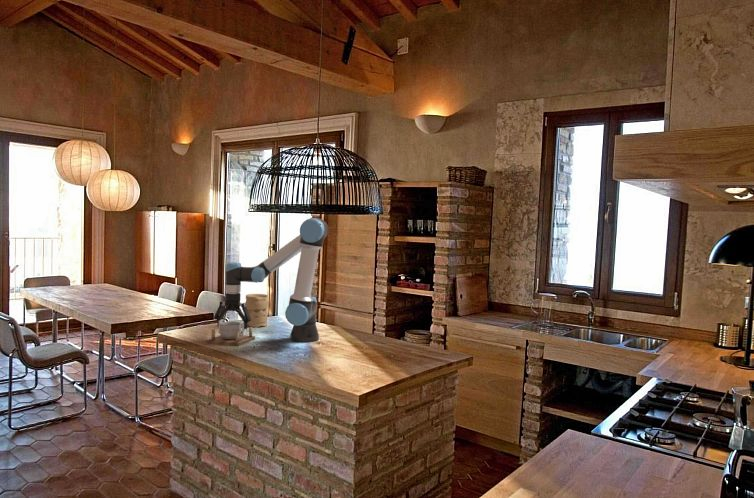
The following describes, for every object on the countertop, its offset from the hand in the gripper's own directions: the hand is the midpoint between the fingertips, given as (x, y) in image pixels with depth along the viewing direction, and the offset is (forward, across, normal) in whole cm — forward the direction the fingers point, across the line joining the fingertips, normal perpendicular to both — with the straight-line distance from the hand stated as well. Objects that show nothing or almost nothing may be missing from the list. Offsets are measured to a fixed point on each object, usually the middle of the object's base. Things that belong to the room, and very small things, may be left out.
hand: (232, 334), depth 283 cm
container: (+4, +8, -41) cm, 42 cm away
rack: (+4, 0, 0) cm, 4 cm away
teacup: (+2, -1, 0) cm, 2 cm away
